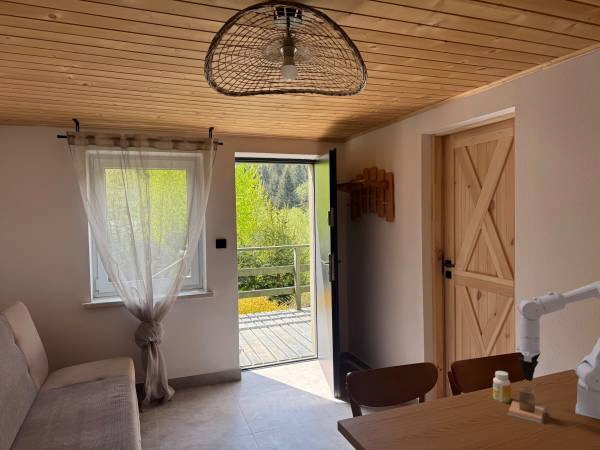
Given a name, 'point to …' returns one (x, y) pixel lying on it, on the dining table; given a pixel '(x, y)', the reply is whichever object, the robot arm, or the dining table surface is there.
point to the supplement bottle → (501, 387)
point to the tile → (534, 416)
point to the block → (527, 399)
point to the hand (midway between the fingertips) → (529, 376)
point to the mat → (527, 419)
